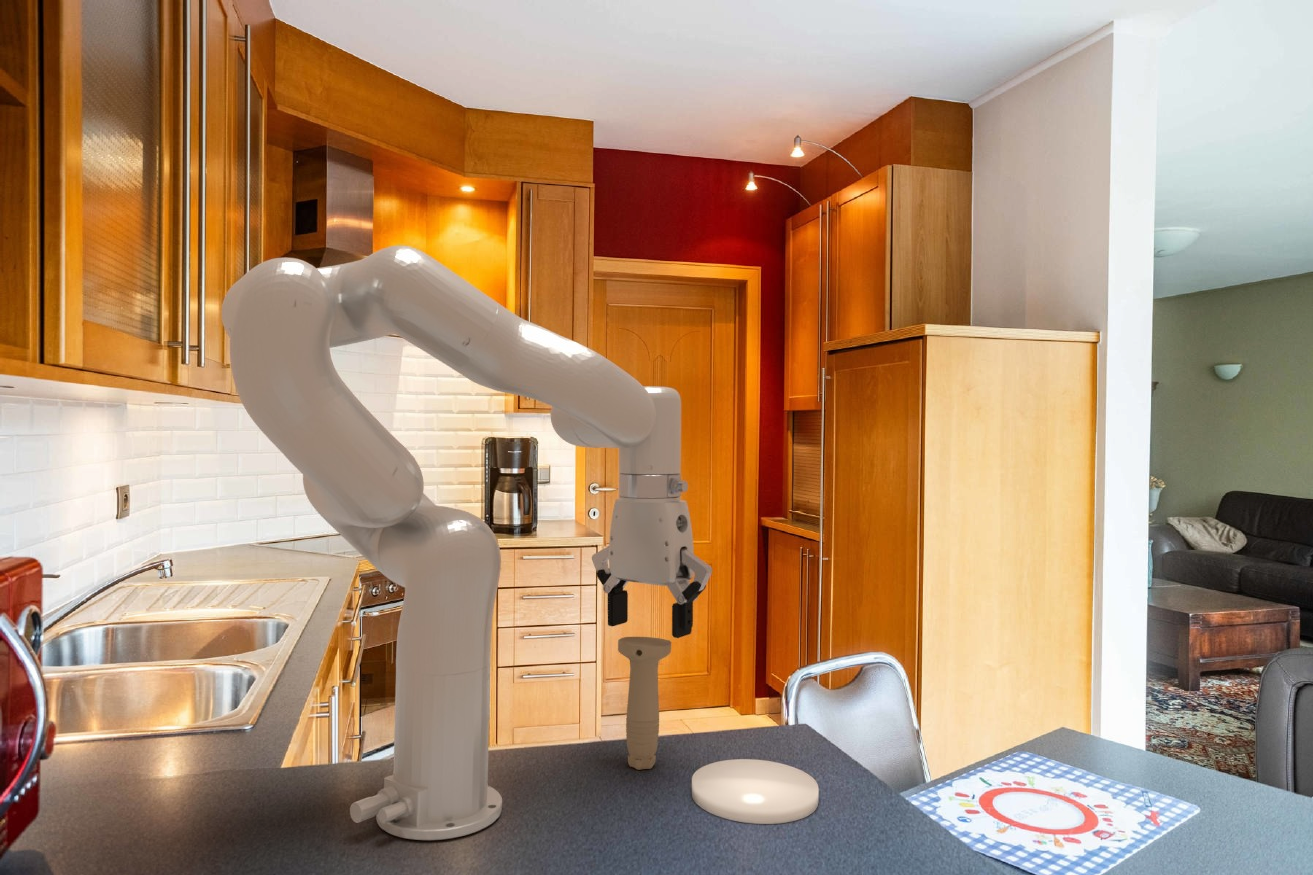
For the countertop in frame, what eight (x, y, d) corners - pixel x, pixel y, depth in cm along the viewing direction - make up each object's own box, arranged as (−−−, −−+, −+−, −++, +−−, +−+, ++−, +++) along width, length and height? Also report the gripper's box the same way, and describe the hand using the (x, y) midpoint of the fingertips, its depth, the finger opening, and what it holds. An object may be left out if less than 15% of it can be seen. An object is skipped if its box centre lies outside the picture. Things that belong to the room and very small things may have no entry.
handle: (662, 776, 100) (665, 648, 100) (610, 769, 102) (613, 643, 102) (672, 761, 105) (675, 639, 105) (622, 755, 106) (625, 635, 106)
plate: (780, 836, 85) (781, 821, 85) (666, 799, 94) (667, 785, 94) (839, 792, 97) (839, 779, 97) (732, 762, 105) (733, 750, 105)
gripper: (727, 490, 101) (726, 634, 102) (613, 484, 112) (613, 615, 112) (691, 493, 95) (690, 647, 96) (575, 487, 106) (574, 625, 106)
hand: (648, 629), depth 104 cm, fingers open, 9 cm apart
